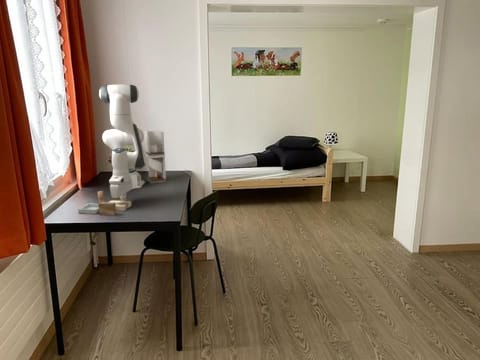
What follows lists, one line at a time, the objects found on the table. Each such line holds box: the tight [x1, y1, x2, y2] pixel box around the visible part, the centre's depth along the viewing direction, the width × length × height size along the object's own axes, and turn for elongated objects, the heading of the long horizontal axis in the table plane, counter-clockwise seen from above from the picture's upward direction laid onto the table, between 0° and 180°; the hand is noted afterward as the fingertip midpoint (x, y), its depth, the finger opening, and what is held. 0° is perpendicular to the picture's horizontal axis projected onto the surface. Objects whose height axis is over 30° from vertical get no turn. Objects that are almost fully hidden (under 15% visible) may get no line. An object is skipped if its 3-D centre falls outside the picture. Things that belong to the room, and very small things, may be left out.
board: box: [108, 199, 133, 212], centre depth 207 cm, size 10×12×3 cm
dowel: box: [97, 190, 105, 204], centre depth 211 cm, size 3×3×8 cm
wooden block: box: [97, 201, 117, 216], centre depth 196 cm, size 3×8×6 cm, turn 82°
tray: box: [77, 202, 99, 215], centre depth 202 cm, size 10×10×2 cm
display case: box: [144, 130, 167, 184], centre depth 264 cm, size 11×11×35 cm
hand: (123, 200), depth 214 cm, fingers closed
